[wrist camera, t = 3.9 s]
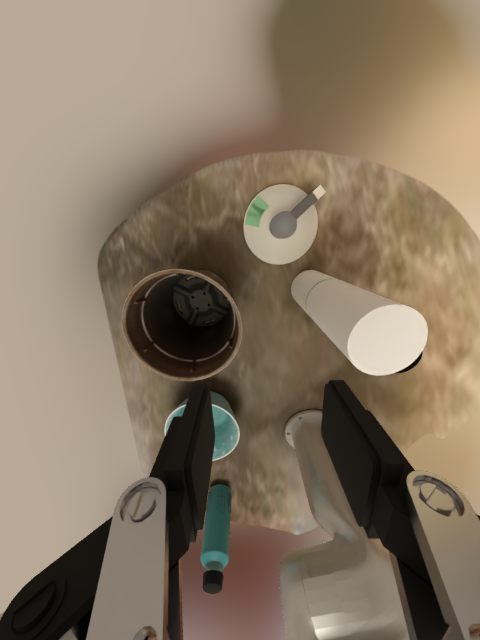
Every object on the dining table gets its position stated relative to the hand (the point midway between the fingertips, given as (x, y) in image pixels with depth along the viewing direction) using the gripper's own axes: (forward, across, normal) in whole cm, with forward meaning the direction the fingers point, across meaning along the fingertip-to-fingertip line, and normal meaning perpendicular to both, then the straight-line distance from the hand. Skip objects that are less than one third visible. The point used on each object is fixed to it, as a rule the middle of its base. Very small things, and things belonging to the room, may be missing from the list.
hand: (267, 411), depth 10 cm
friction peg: (+34, -8, -11) cm, 36 cm away
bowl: (+36, +11, +30) cm, 48 cm away
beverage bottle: (+36, +10, +58) cm, 69 cm away
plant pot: (+36, +9, +4) cm, 37 cm away
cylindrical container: (+36, -12, +2) cm, 38 cm away
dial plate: (+35, -6, -10) cm, 37 cm away
